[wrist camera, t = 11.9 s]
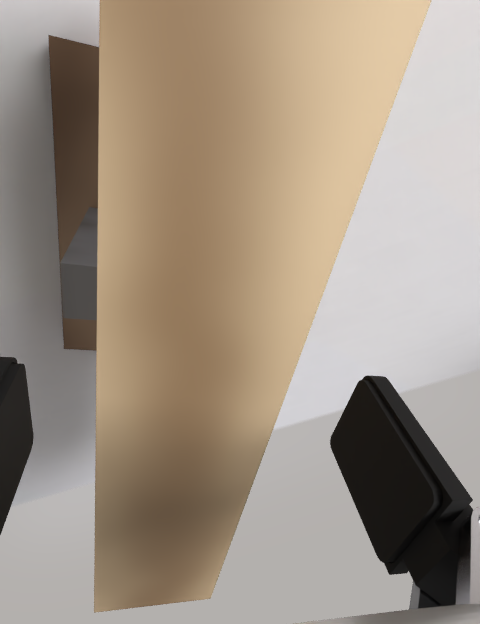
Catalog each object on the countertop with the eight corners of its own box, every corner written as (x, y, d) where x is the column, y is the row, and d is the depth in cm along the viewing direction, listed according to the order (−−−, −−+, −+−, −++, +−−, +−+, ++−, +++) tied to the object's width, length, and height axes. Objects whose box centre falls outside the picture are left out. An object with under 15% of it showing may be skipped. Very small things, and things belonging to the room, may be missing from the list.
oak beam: (336, -79, 10) (516, -231, 5) (199, 479, 22) (210, 598, 17) (137, -156, 8) (104, -472, 3) (110, 482, 21) (94, 612, 16)
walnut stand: (310, 99, 19) (387, 116, 13) (245, 344, 27) (271, 432, 21) (57, 37, 16) (-15, 17, 10) (69, 334, 24) (34, 433, 18)
